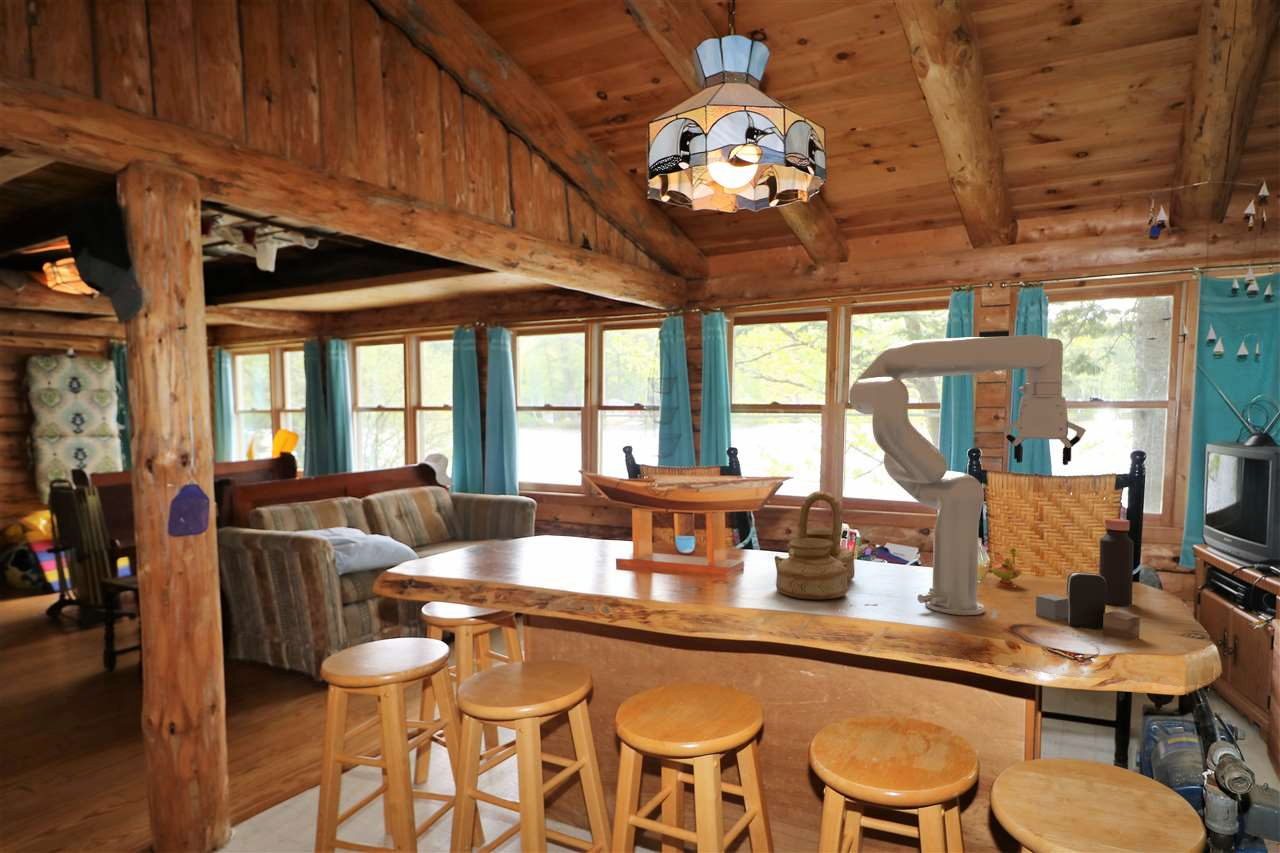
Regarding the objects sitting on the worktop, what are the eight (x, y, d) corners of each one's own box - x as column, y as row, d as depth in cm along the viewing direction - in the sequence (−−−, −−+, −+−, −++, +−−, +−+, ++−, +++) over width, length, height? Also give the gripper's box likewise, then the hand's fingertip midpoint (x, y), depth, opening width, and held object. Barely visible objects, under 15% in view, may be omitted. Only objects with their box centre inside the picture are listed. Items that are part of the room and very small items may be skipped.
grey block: (1054, 620, 158) (1055, 600, 158) (1035, 615, 162) (1036, 595, 162) (1068, 618, 160) (1068, 598, 160) (1049, 613, 164) (1049, 593, 164)
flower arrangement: (1008, 576, 199) (1009, 537, 199) (1028, 592, 181) (1029, 549, 181) (981, 575, 201) (982, 535, 200) (999, 591, 183) (1000, 548, 183)
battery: (1100, 625, 155) (1102, 572, 154) (1106, 630, 151) (1107, 576, 151) (1064, 621, 157) (1065, 569, 157) (1068, 626, 153) (1070, 573, 153)
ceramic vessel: (789, 569, 206) (791, 483, 206) (856, 575, 200) (858, 486, 199) (767, 599, 174) (769, 496, 174) (846, 607, 168) (848, 500, 167)
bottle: (1115, 598, 177) (1117, 517, 176) (1139, 606, 170) (1141, 521, 169) (1091, 599, 175) (1093, 517, 175) (1114, 607, 169) (1116, 522, 168)
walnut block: (1125, 641, 144) (1126, 619, 144) (1102, 634, 148) (1103, 613, 148) (1139, 638, 146) (1139, 616, 146) (1116, 632, 150) (1117, 610, 150)
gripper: (999, 391, 172) (998, 462, 173) (1084, 390, 161) (1082, 466, 162) (1006, 391, 178) (1005, 460, 179) (1088, 391, 167) (1086, 464, 168)
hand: (1041, 463), depth 170 cm, fingers open, 9 cm apart
